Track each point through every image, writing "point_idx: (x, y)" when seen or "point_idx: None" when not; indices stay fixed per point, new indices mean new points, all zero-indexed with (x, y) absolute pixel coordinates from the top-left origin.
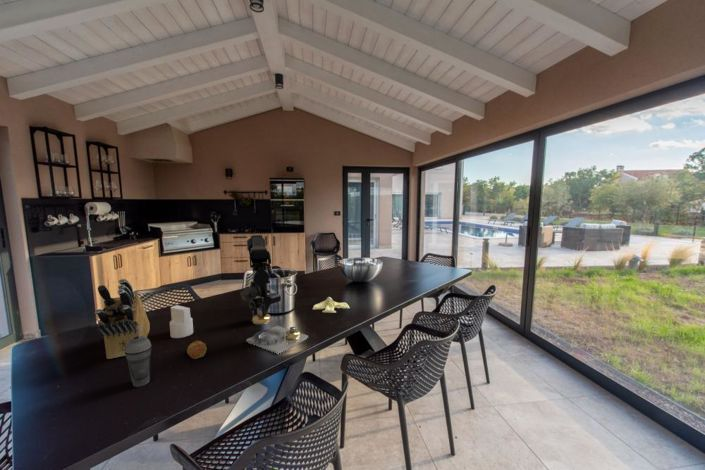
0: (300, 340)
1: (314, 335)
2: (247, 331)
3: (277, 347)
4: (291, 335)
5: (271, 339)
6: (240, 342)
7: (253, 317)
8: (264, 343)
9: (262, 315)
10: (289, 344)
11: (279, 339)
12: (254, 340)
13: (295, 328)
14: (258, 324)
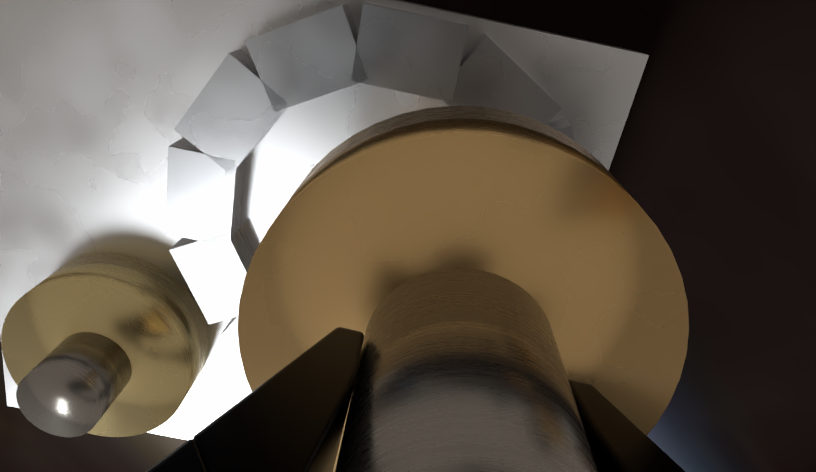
0: (4, 296)
1: (22, 450)
2: (807, 310)
3: (65, 16)
4: (38, 286)
5: (250, 136)
6: (722, 11)
7: (640, 238)
8: (287, 24)
9: (372, 338)
10: (4, 151)
11: (169, 188)
12: (482, 37)
13: (29, 408)
14: (400, 117)
